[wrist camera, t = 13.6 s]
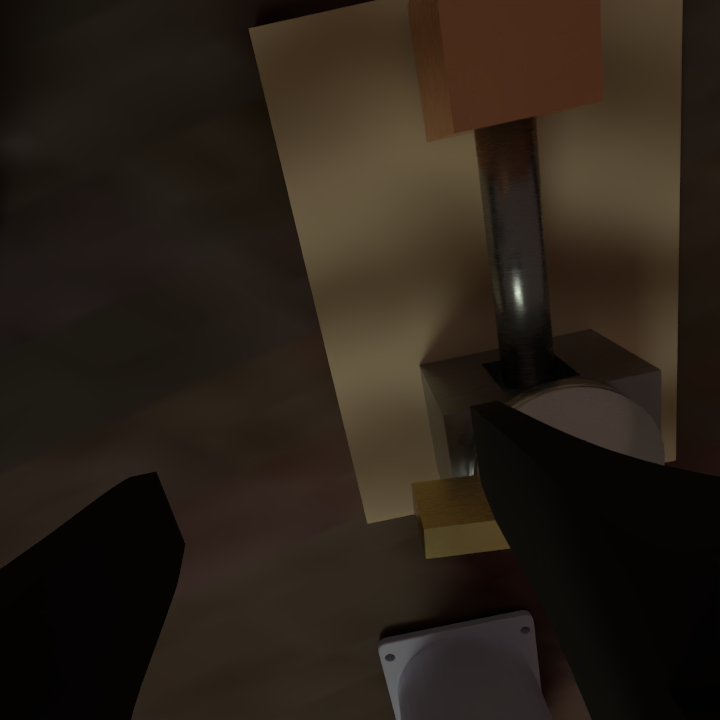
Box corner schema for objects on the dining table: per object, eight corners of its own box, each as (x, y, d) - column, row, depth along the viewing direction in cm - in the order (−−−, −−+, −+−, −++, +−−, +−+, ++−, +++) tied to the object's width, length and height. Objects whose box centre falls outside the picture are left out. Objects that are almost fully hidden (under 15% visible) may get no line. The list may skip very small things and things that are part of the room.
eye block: (596, 437, 22) (661, 501, 18) (437, 470, 22) (463, 541, 18) (591, 328, 20) (661, 370, 16) (419, 364, 21) (443, 415, 16)
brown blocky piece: (560, 351, 20) (613, 391, 16) (460, 371, 20) (490, 416, 16) (534, -23, 16) (597, -84, 12) (407, 5, 16) (431, -47, 12)
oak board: (664, 451, 24) (675, 460, 23) (366, 512, 24) (367, 523, 23) (667, -58, 17) (683, -69, 16) (252, 34, 17) (248, 28, 16)
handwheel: (658, 368, 16) (729, 409, 13) (641, 527, 18) (700, 593, 15) (401, 398, 16) (417, 447, 13) (415, 555, 18) (431, 627, 15)
